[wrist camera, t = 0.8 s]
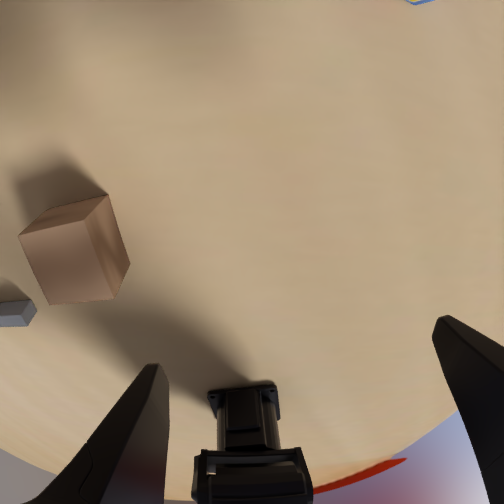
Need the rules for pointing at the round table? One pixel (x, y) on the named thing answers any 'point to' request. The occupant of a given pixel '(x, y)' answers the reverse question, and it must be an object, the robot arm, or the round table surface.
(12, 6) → the round table surface
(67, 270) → the walnut block
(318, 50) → the round table surface
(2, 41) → the round table surface
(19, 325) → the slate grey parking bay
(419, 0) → the ink cartridge box
